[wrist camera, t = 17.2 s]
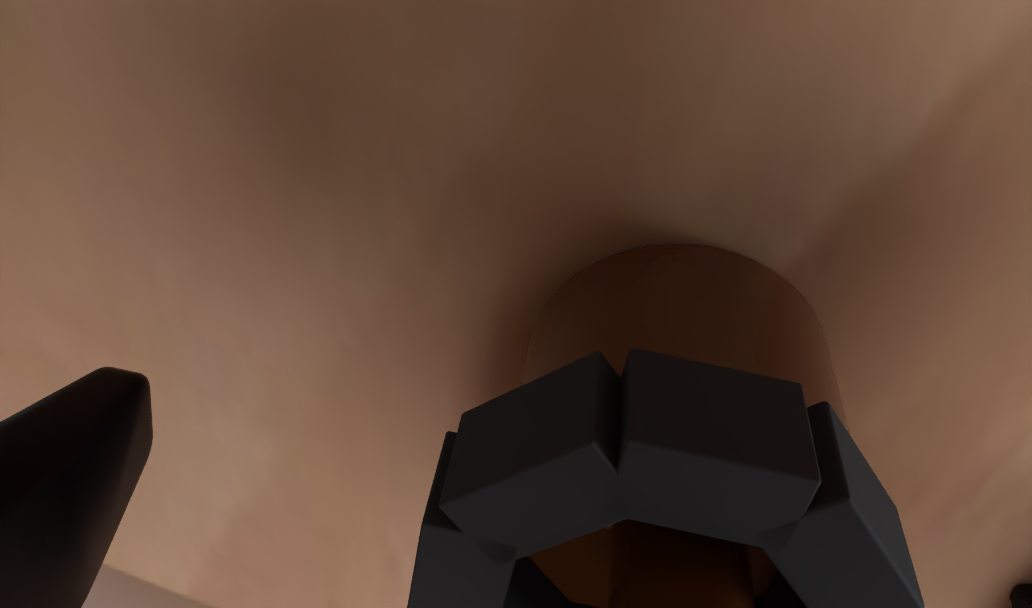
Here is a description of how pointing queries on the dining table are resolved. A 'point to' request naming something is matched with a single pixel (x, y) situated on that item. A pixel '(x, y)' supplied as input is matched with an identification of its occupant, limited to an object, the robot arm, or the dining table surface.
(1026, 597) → the mate gourd
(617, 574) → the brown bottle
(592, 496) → the black octagonal ring
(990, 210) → the dining table surface
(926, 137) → the dining table surface
